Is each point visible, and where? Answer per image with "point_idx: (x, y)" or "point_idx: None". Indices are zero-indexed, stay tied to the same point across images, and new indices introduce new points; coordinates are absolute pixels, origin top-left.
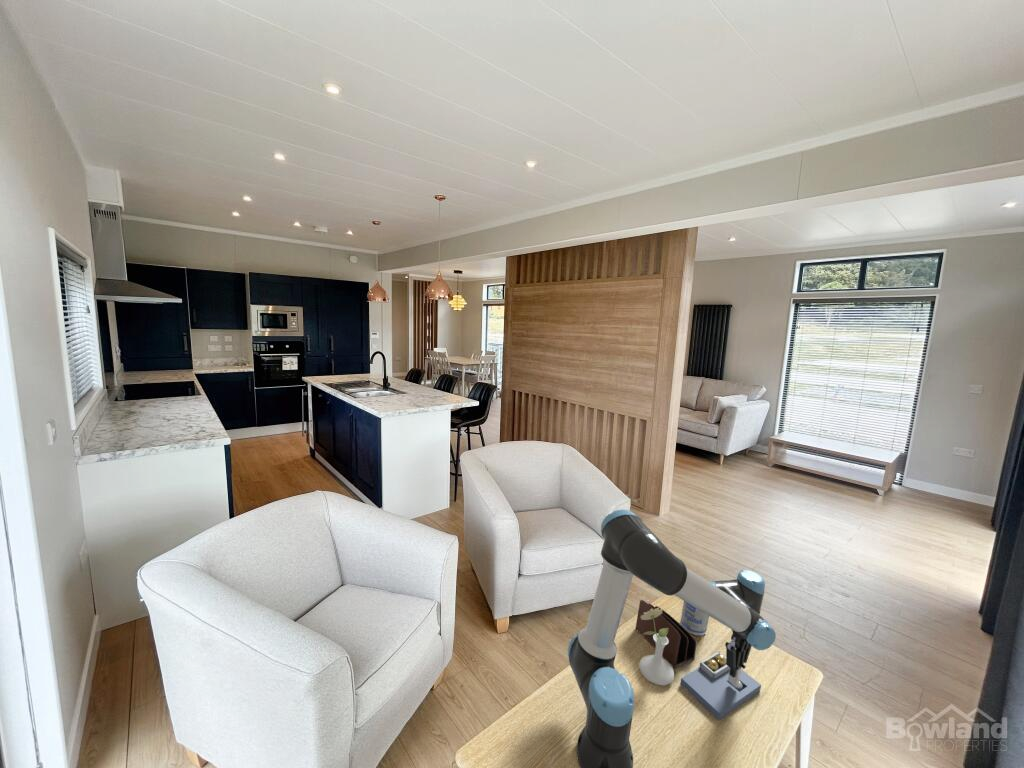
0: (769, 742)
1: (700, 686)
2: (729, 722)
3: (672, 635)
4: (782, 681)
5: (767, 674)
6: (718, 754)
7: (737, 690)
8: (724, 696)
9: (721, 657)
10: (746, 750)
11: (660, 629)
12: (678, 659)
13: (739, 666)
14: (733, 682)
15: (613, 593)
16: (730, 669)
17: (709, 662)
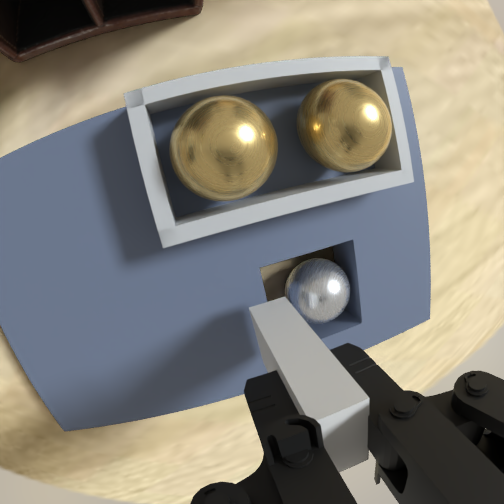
0: (233, 481)
1: (28, 272)
2: None
3: None
4: (499, 270)
5: (489, 230)
6: (25, 469)
7: None
8: (150, 368)
9: (357, 131)
10: (125, 487)
11: None
12: (67, 11)
13: (368, 449)
14: (264, 357)
15: None
16: (258, 430)
17: (184, 139)
